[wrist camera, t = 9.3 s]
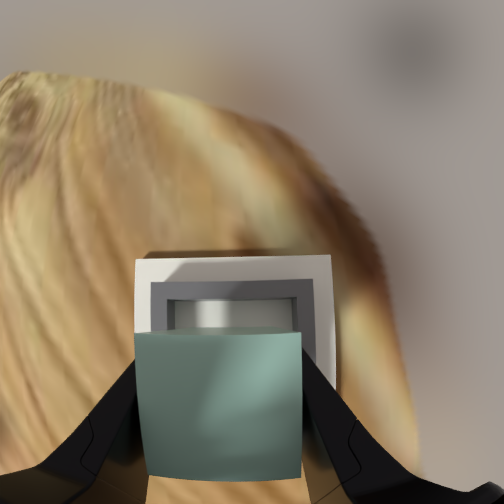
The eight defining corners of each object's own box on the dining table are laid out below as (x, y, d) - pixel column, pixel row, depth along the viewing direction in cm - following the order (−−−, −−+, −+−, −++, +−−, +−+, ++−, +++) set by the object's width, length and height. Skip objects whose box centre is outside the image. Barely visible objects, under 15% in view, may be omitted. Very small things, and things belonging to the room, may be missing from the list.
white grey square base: (331, 437, 17) (343, 453, 14) (147, 439, 17) (134, 454, 14) (327, 257, 20) (339, 247, 17) (139, 261, 20) (124, 252, 17)
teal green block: (272, 401, 15) (301, 477, 6) (195, 401, 15) (147, 474, 6) (271, 326, 16) (301, 332, 7) (192, 327, 16) (134, 333, 7)
